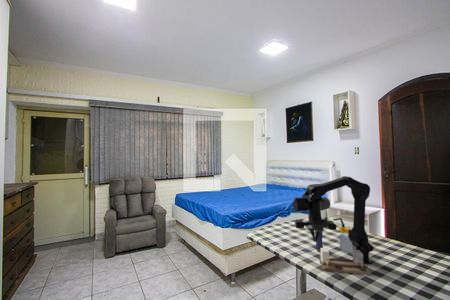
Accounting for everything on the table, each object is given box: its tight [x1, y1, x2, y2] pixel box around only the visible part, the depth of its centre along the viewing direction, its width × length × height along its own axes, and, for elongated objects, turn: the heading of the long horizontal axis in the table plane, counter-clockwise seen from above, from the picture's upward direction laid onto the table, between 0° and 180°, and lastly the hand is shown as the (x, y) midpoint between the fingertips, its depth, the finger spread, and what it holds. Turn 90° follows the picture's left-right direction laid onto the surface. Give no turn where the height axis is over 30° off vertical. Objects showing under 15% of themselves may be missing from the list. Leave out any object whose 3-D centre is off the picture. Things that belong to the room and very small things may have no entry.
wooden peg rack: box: [318, 250, 372, 275], centre depth 104 cm, size 9×20×7 cm, turn 80°
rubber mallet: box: [315, 196, 331, 252], centre depth 122 cm, size 12×8×30 cm, turn 116°
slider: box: [320, 247, 330, 266], centre depth 106 cm, size 7×3×6 cm, turn 170°
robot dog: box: [333, 217, 352, 234], centre depth 134 cm, size 6×18×13 cm, turn 29°
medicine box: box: [339, 232, 356, 255], centre depth 121 cm, size 8×4×9 cm, turn 27°
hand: (315, 241), depth 108 cm, fingers closed
